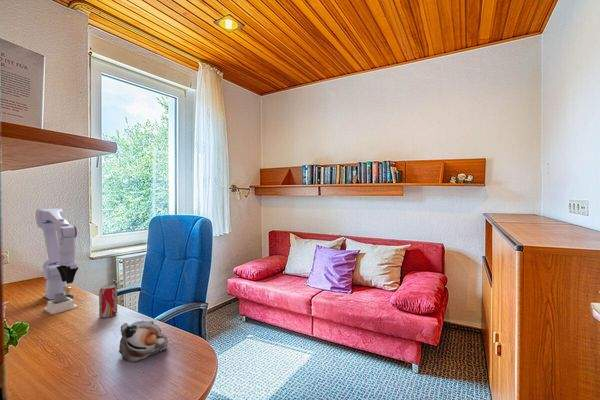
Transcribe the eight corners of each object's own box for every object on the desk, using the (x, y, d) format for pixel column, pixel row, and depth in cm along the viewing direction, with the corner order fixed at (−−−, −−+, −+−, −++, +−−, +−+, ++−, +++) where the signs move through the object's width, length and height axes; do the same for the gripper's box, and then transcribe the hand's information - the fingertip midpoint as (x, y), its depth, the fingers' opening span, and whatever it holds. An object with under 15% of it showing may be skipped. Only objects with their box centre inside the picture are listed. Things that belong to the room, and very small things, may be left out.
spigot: (53, 307, 131) (53, 294, 131) (64, 304, 134) (64, 292, 134) (57, 309, 129) (56, 296, 129) (68, 306, 132) (68, 293, 132)
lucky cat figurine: (175, 342, 102) (178, 313, 96) (154, 375, 91) (156, 345, 85) (133, 328, 102) (134, 299, 96) (108, 360, 92) (106, 329, 86)
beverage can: (111, 318, 121) (110, 289, 121) (95, 318, 121) (95, 288, 121) (120, 312, 127) (120, 284, 127) (105, 312, 127) (105, 284, 127)
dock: (41, 308, 132) (41, 300, 132) (70, 300, 141) (70, 293, 141) (51, 314, 125) (51, 306, 125) (81, 306, 134) (81, 298, 134)
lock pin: (61, 296, 138) (61, 287, 138) (70, 294, 141) (70, 285, 141) (64, 298, 136) (64, 289, 136) (73, 296, 139) (73, 287, 139)
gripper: (50, 252, 139) (50, 281, 139) (62, 255, 131) (63, 287, 131) (68, 249, 145) (69, 278, 145) (81, 253, 136) (82, 283, 137)
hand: (67, 282), depth 138 cm, fingers open, 5 cm apart
